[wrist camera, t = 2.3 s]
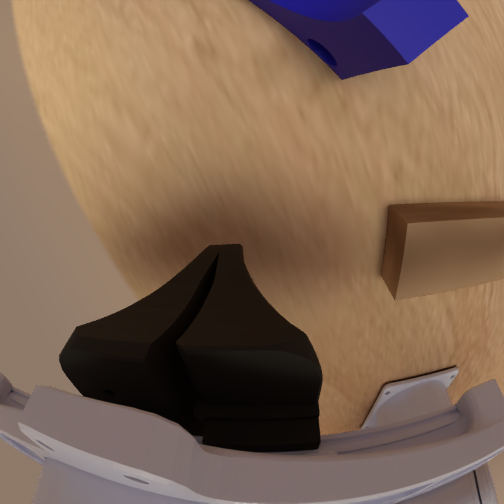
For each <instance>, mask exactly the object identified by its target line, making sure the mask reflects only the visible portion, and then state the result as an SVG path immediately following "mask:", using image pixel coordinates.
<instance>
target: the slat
mask: <svg viewBox="0 0 504 504" xmlns="http://www.w3.org/2000/svg"><path fill="white" fill-rule="evenodd" d="M381 276H382V278H383V280H384V281H385V283H386V285H387V287H388V289H389V291H390V292H391V294H392V296H393V298H394V300H401V299H407V298H413V297H419V296H425V295H430V294H436V293H441V292H446V291H451V290H456V289H461V288H466V287H470V286H475V285H479V284H484V283H488V282H492V281H496V280H500V279H504V202H447V203H419V204H397V205H389V207H388V221H387V232H386V242H385V251H384V259H383V267H382V274H381Z"/></svg>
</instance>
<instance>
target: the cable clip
mask: <svg viewBox="0 0 504 504" xmlns="http://www.w3.org/2000/svg"><path fill="white" fill-rule="evenodd" d="M249 1H250V2H252V3H253V4H255V5H256V6H258V7H259V8H260V9H262V10H263V11H265V12H266V13H267V14H269V15H270V16H271V17H273V18H274V19H275V20H277V21H278V22H279V23H280V24H282V25H283V26H284V27H285V28H287V29H288V30H289V31H290V32H291V33H293V34H294V35H295V36H296V37H297V38H299V39H300V40H301V41H302V42H303V43H304V44H305V45H307V46H308V47H309V48H310V49H311V50H312V51H313V52H314V53H315V54H317V55H318V56H319V57H320V58H321V59H322V60H323V61H324V62H325V63H326V64H327V65H328V66H329V67H330V68H331V69H332V70H333V71H334V72H335V73H336V74H337V75H338V76H339V77H340V78H341V79H342V80H343V79H346V78H350V77H354V76H357V75H361V74H365V73H369V72H373V71H378V70H382V69H386V68H391V67H396V66H401V65H406V64H409V63H410V62H412V61H413V60H414V59H415V58H416V57H418V56H419V55H420V54H421V53H423V52H424V51H425V50H426V49H427V48H429V47H430V46H431V45H432V44H434V43H435V42H436V41H437V40H439V39H440V38H441V37H442V36H444V35H445V34H446V33H448V32H449V31H450V30H451V29H453V28H454V27H455V26H456V25H458V24H459V23H460V22H462V21H463V20H464V19H466V18H467V17H468V14H467V13H466V12H465V10H464V9H463V8H462V6H461V5H460V4H459V3H458V1H457V0H249Z"/></svg>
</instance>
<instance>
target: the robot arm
mask: <svg viewBox="0 0 504 504" xmlns="http://www.w3.org/2000/svg"><path fill="white" fill-rule="evenodd" d="M59 361H60V364H61V367H62V370H63V371H64V373H65V374H66V376H67V377H68V378H69V380H70V381H71V382H72V383H73V385H74V386H75V387H76V388H77V389H78V391H79V392H80V393H81V394H82V395H83V396H80V395H76V394H73V393H70V392H66V391H63V390H60V389H57V388H54V387H50V386H43V385H39V386H36V387H35V388H34V390H33V392H32V394H31V395H30V394H29V393H26V392H24V391H22V390H19V389H17V388H15V387H13V386H12V384H11V383H10V381H9V380H8V379H7V378H6V377H5V376H4V375H3V374H2V373H0V438H1V439H3V440H4V441H5V442H7V443H8V444H10V445H11V446H12V447H14V448H15V449H17V450H18V451H20V452H22V453H23V454H25V455H26V456H28V457H29V458H31V459H33V460H34V461H36V462H38V463H39V464H41V465H43V468H42V471H41V474H40V477H39V480H38V483H37V487H36V489H35V493H34V497H33V500H32V503H31V504H498V502H497V497H496V491H495V487H494V483H493V479H492V475H491V471H490V468H489V464H488V461H489V460H491V459H492V458H493V457H495V456H496V455H498V454H499V453H500V452H502V451H503V450H504V397H503V394H502V392H501V390H500V388H499V386H498V384H497V382H496V380H495V379H492V380H490V381H487V382H485V383H482V384H480V385H478V386H475V387H473V388H471V389H469V390H468V391H467V392H465V393H464V394H463V395H462V396H461V397H460V399H459V400H458V402H457V404H455V405H453V404H452V402H451V399H450V397H449V394H448V392H447V388H448V387H449V385H450V384H451V382H452V381H453V379H454V378H455V377H456V375H457V374H458V372H459V369H458V367H454V368H451V369H448V370H444V371H441V372H437V373H433V374H429V375H425V376H421V377H417V378H413V379H408V380H404V381H399V382H394V383H389V384H387V385H385V386H384V387H383V389H382V391H381V393H380V395H379V396H378V398H377V400H376V402H375V404H374V406H373V408H372V409H371V411H370V413H369V415H368V417H367V418H366V420H365V422H364V423H363V425H362V427H361V428H360V430H356V431H350V432H344V433H336V434H328V435H320V428H319V418H318V417H319V403H318V400H319V395H320V391H321V386H322V380H323V377H322V370H321V366H320V363H319V360H318V358H317V355H316V353H315V351H314V348H313V346H312V344H311V342H310V340H309V339H308V337H307V335H306V333H304V332H303V331H301V330H300V329H298V328H297V327H295V326H294V325H292V324H291V323H289V322H288V321H287V320H286V319H285V318H284V317H282V316H281V315H280V314H279V313H278V312H277V311H276V310H275V309H274V308H273V307H272V306H271V305H270V304H269V303H268V302H267V300H266V299H265V298H264V297H263V295H262V294H261V293H260V291H259V290H258V288H257V287H256V285H255V284H254V282H253V280H252V278H251V277H250V275H249V273H248V271H247V268H246V266H245V263H244V258H243V248H242V246H241V245H240V244H227V245H209V246H208V247H207V248H206V249H205V250H203V251H202V252H201V253H200V254H199V255H198V256H197V257H196V258H195V259H194V260H193V261H192V262H191V263H190V264H189V265H187V266H186V267H185V268H184V269H183V270H182V271H181V272H179V273H178V274H177V275H176V276H175V277H173V278H172V279H171V280H170V281H168V282H167V283H166V284H165V285H163V286H162V287H160V288H159V289H157V290H156V291H154V292H153V293H151V294H150V295H148V296H147V297H145V298H143V299H141V300H139V301H138V302H136V303H134V304H132V305H131V306H129V307H127V308H125V309H122V310H120V311H118V312H116V313H114V314H111V315H109V316H107V317H104V318H101V319H99V320H96V321H93V322H90V323H87V324H84V325H81V326H77V327H76V328H75V330H74V332H73V333H72V335H71V337H70V338H69V340H68V342H67V343H66V345H65V347H64V348H63V350H62V352H61V354H60V355H59Z"/></svg>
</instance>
